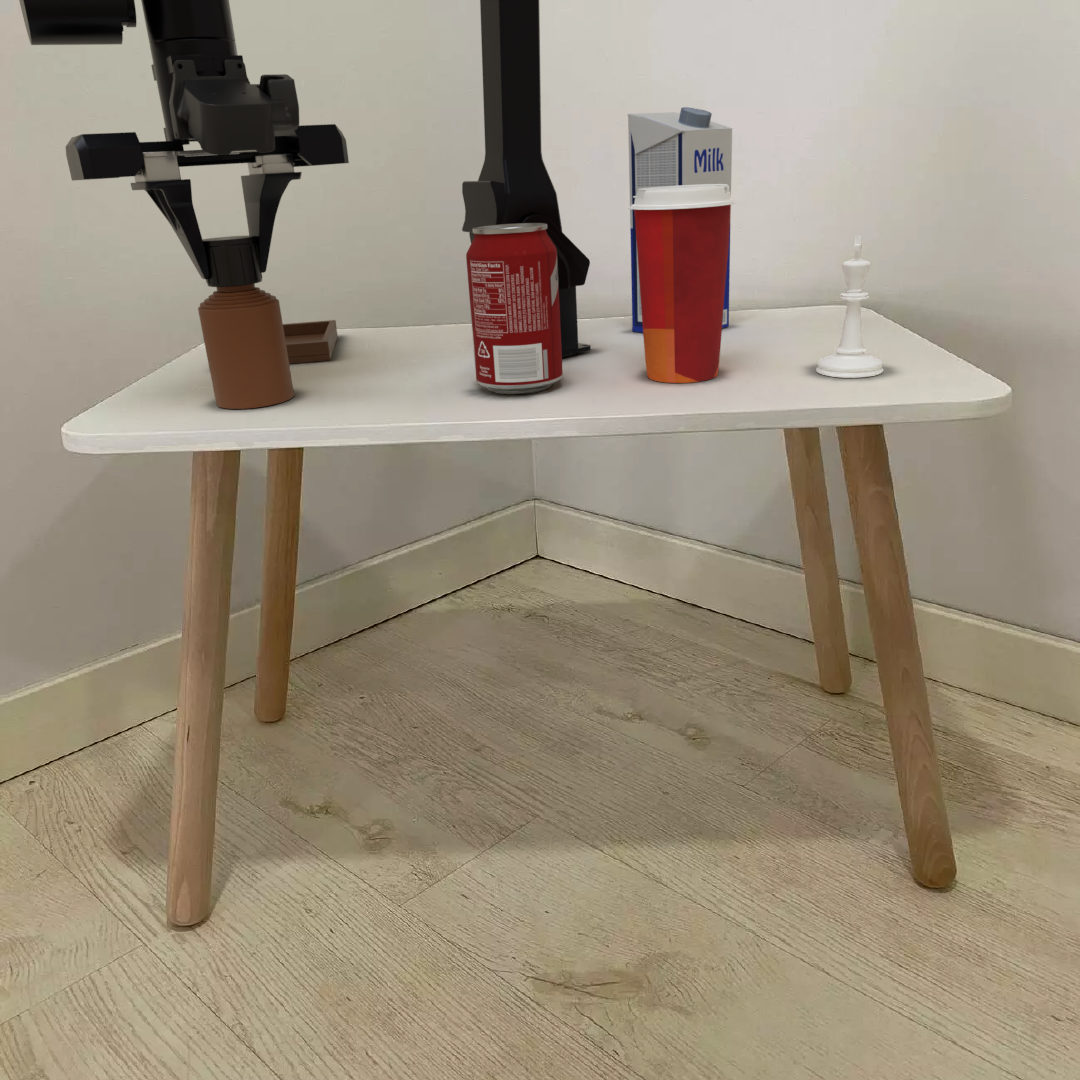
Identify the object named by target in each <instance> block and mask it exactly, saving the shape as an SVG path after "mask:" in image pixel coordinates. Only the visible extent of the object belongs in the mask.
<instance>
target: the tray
mask: <svg viewBox="0 0 1080 1080" xmlns="http://www.w3.org/2000/svg"><path fill="white" fill-rule="evenodd" d="M283 329H284V335H285V341H286V348H287V354H288V360H289V365H293V364H303V363H304V364H305V363H316V362H327V361H331V358H332V356H333V353H334V349H335V346H336V343H337V340H338V337H339V335H338V329H337V320H336V319H330V320H318V321H305V322H304V321H303V322H293V323H283Z"/></svg>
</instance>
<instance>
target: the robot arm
mask: <svg viewBox="0 0 1080 1080" xmlns="http://www.w3.org/2000/svg"><path fill="white" fill-rule="evenodd" d="M18 2H19V5H20V9H21V13H22V17H23V22H24V27H25V30H26V33H27V36H28V40H29V42H30V43H29V44H30V45H31V46H75V45H76V46H84V45H85V46H89V45H90V46H91V45H93V46H96V45H97V46H98V45H101V46H102V45H107V46H108V45H109V46H110V45H123V37H124V36H123V32H124V27H126V28H137V11H136V3H135V0H18ZM140 2H141V7H142V12H143V17H144V22H145V23H144V24H145V27H146V33H147V38H148V44H149V48H150V54H151V59H152V64H151V65H150V66H151V69H152V70H151V71H152V76H153V81H156V86H157V90H158V97H159V101H160V106H161V112H162V117H163V122H164V127H163V134H164V138H165V140H161V141H159V140H158V141H140V140H139V139H140V138H139V137H138V135H137V133H136V131H128V132H105V133H104V132H103V133H82V134H79V135H75V136H72V137H71V138H70V140H69V141H68V142H67V144H66V145H65V156H66V160H67V166H68V169H69V170H68V171H69V173H70V178H71V181H72V182H73V181H89V180H103V179H105V180H106V179H119V178H126V177H127V178H129V177H134V181H135V182H130V187H131V190H132V191H145V192H146V193H147V195H148V196H149V198H150V199H151V200H152V202H153V203H154V204H155V206H156V207H157V208H158V210H159V211H160V212H161V214H162V215H163V217H164V218H165V219H166V220H167V222H168V223H169V225H170V226H171V228H172V230H173V232H174V233H175V234H176V236H177V238H178V240H179V242H180V243H181V246H182V247H183V249H184V251H185V252H186V254H187V255H188V257H189V259H190V261H191V262H192V264H193V266H194V267H195V269H196V271H197V273H198V275H199V276H200V278H201V279H202V280H206V279H210V272H209V265H208V259H207V254H206V251H205V247H204V244H203V240H202V239H203V236H202V233H201V229H200V225H199V222H198V219H197V215H196V211H195V208H194V207H195V206H194V204H193V195H192V194H193V191H192V180H191V178H188V179H187V178H186V179H185V178H184V179H182V176H181V169H180V168H185V167H201V166H218V165H222V166H223V165H236V164H237V165H238V164H247V168H248V175H247V174H246V175H240V180H241V187H242V195H243V200H244V209H245V216H246V223H247V230H248V236H255V240H256V241H255V242H256V245H257V248H258V254H259V260H260V266H261V272H262V274H264V273H266V271H267V267H268V262H269V256H270V251H271V245H272V244H271V243H272V238H273V232H274V226H275V221H276V217H277V213H278V210H279V206H280V204H281V203H280V202H281V200H282V197H283V195H284V193H285V191H286V189H287V187H288V186H289V184H290V182H291V181H296V180H297V181H298V180H302V179H301V178H302V171H295V168H299V167H313V166H314V167H315V166H328V165H329V166H330V165H340V164H341V165H343V164H350V161H349V153H348V145H347V139H346V137H345V135H344V133H343V131H342V130H341V129H340V128H339V126H338V125H337V124H335V123H332V124H331V123H330V124H329V123H328V124H306V125H300V105H299V100H298V94H297V87H296V83H295V79H294V78H293V77H291V76H290V75H289V74H285V73H284V74H282V73H281V74H262V75H261V76H260V78H259V83H251V82H250V79H249V77H248V74H247V68H246V63H245V62H244V58H243V54H242V55H241V54H240V55H238V48H237V41H236V36H235V29H234V24H233V17H232V11H231V5H230V0H140ZM479 7H480V35H481V37H480V38H481V39H480V41H481V63H482V64H481V65H482V67H481V68H482V90H483V91H482V96H483V97H482V98H483V99H482V100H483V126H484V127H483V128H484V160H483V164H482V167H481V170H480V174H479V176H478V179H477V180H465V181H464V180H463V182H462V183H461V184H462V185H461V188H462V189H461V193H462V198H463V203H464V210H465V211H464V212H465V214H464V222H463V225H462V228H461V231H462V232H463V233H469V234H468V235H469V241H470V244H471V243H472V241H473V239H474V233H473V228H476V227H481V226H489V225H501V224H517V223H545V224H547V229H546V233H547V235H548V236H549V238H550V239H551V241H552V242H553V244H554V245H555V247H556V249H557V263H558V285H559V306H560V328H561V349H562V358H564V357H568V356H569V357H570V356H573V355H577V354H581V353H584V352H585V353H586V352H589V351H592V346H591V344H587V343H581V342H579V330H578V305H577V304H578V303H577V301H578V300H577V287H581V286H584V285H585V284H586V280H587V277H588V273H589V270H590V269H589V268H590V265H591V261H590V259H589V258H588V257H587V255H586V254H585V253H584V252H582V250H580V249H579V247H578V246H577V245H575V244H574V243H573V241H571V239H570V238H569V237H568V236H567V234H565V233H564V232H563V227H562V226H563V225H562V219H561V214H560V207H559V201H558V194H557V191H556V189H555V186H554V184H553V181H552V179H551V176H550V174H549V172H548V169H547V167H546V165H545V162H544V160H543V159H544V158H543V153H542V104H541V103H542V95H541V92H542V91H541V30H540V29H541V28H540V27H541V26H540V21H541V19H540V0H479ZM194 142H197V143H198V144H199V146H200V148H201V149H191V150H185V149H184V146H187V145H188V146H189V145H191V144H190V143H194Z"/></svg>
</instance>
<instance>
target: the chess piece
mask: <svg viewBox="0 0 1080 1080" xmlns="http://www.w3.org/2000/svg"><path fill="white" fill-rule="evenodd" d="M862 237H863V235H862V234H855V235H854V244H853V258H850V259H849V260H846V261H843V262H842V264H841V269H842V270H843V274H844V278H845V279H844V280H845V284H846V286H847V289H846V291H845V292H841V293H840V295H839V297H838V298H839V299H840V300H842V301H847V302H846V309H845V316H844V322H843V327H842V331H841V337H840V342H839V345H838V347H835V349H834V351H835V352H836V353H833V354H828V355H826V356H824V357H821V358H820V359H818V361H817V367H816V369H815V371H816V372H817V374H820V375H823V376H826V377H834V378H841V379H842V378H845V379H847V378H848V379H857V378H858V379H859V378H869V377H875V376H878V375H880V374H883V373H884V368H883V364H884V362H883V360H882V359H880V357H877V356H874V355H872V354H868V353H865V352H867V350H868V349H867V348H866V347H864V344H863V343H864V342H863V332H862V330H863V329H862V309H861V307H862V306H861V301H865V300H868V299H870V296H869V293H868V292H866V291H864V290H863V286H864V284H865V281H866V277H867V275H868V273H869V271H870V269H871V265H872V263H871V262H870V261H869V260H866V259H864V258H862V257H861V255H862V254H861V253H862V252H861V251H862V249H863V248H862V245H863V243H862V239H863V238H862Z"/></svg>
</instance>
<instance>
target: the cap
mask: <svg viewBox="0 0 1080 1080" xmlns="http://www.w3.org/2000/svg"><path fill="white" fill-rule="evenodd" d="M202 240H203V244H204V247H205V251H206V254H207V259H208V265H209V272H210V279H205V282H206V284H207V286H208V287H211V288H216V287H230V286H241V285H249V284H258V283H261V282H263V273H262V272H261V266H260V260H259V254H258V248H257V245H256V242H255V241H256V240H255V236H249V235H232V236H231V235H230V236H219V237H218V236H217V237H209V238H204V239H203V238H202Z"/></svg>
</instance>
